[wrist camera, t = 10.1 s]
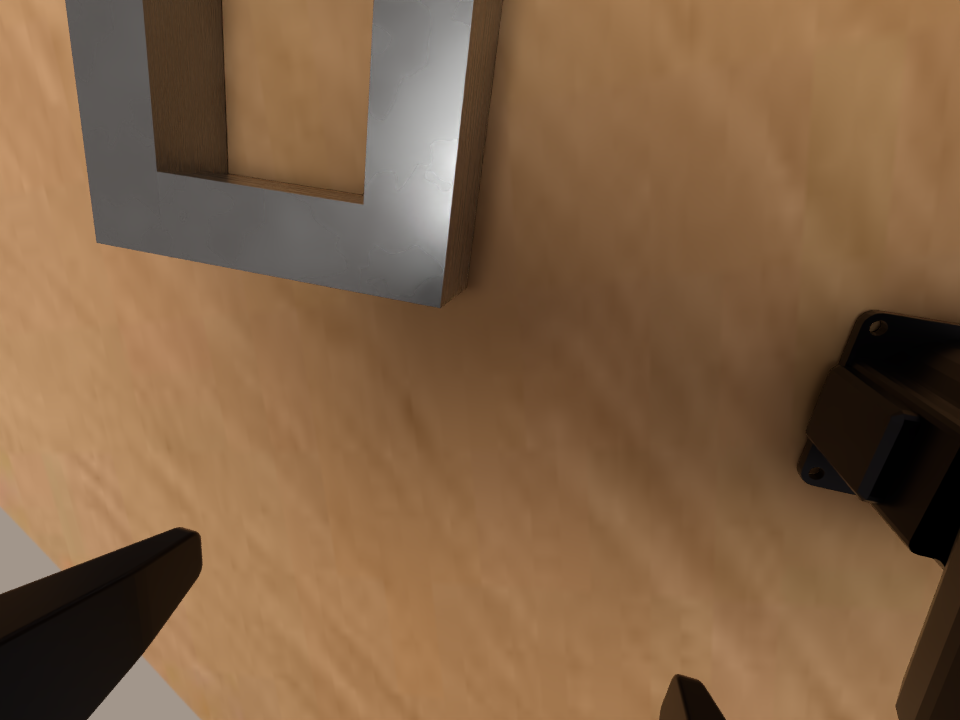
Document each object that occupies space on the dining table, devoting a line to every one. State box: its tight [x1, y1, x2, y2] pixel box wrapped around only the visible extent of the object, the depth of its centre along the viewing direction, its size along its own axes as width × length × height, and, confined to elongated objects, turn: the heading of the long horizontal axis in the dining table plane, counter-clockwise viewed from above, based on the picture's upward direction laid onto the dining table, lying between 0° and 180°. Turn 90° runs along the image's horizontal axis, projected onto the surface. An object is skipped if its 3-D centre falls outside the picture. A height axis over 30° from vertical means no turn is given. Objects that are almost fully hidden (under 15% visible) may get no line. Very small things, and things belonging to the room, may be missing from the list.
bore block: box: [65, 0, 503, 308], centre depth 17 cm, size 13×13×4 cm
